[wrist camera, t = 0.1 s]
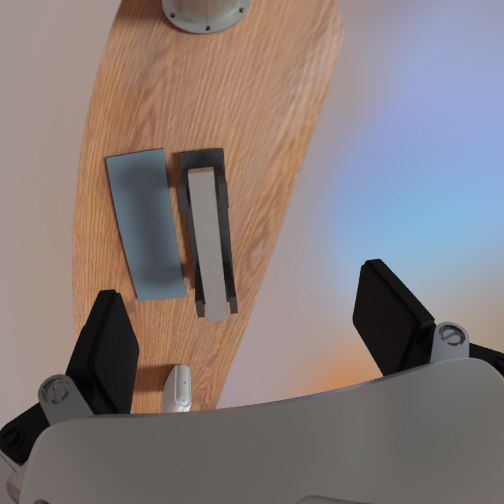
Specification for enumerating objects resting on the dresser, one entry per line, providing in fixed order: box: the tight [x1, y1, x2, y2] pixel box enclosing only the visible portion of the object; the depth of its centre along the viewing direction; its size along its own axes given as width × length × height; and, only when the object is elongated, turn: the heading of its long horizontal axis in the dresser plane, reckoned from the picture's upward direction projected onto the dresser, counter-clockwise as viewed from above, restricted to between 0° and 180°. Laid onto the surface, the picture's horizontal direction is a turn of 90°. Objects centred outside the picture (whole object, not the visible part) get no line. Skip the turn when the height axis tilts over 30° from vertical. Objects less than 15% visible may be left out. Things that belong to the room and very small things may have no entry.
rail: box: [188, 167, 229, 322], centre depth 41 cm, size 22×3×2 cm, turn 3°
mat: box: [106, 148, 187, 301], centre depth 48 cm, size 26×9×1 cm, turn 3°
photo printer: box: [163, 364, 191, 413], centre depth 59 cm, size 10×4×12 cm, turn 152°
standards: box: [177, 148, 238, 317], centre depth 44 cm, size 24×6×11 cm, turn 3°
